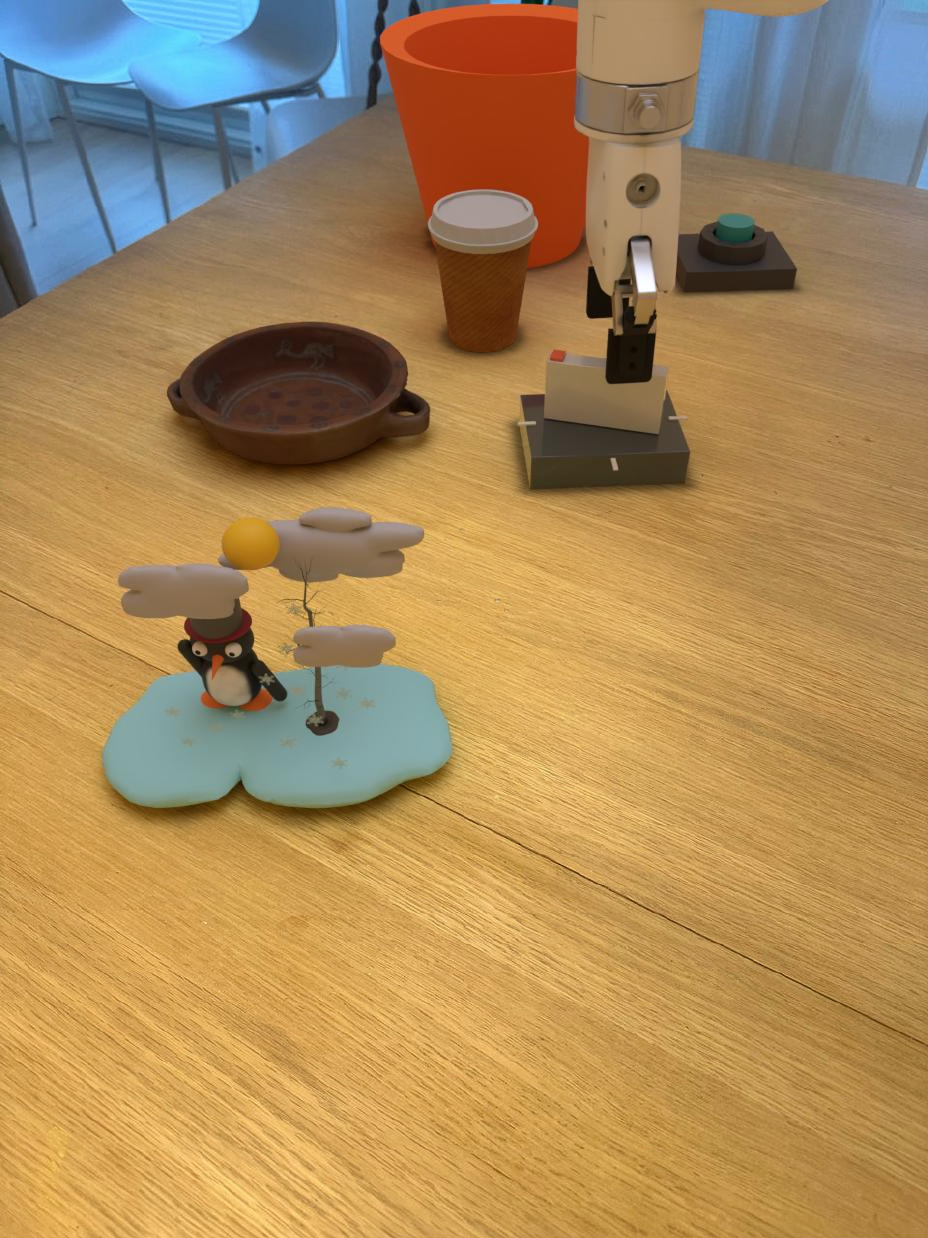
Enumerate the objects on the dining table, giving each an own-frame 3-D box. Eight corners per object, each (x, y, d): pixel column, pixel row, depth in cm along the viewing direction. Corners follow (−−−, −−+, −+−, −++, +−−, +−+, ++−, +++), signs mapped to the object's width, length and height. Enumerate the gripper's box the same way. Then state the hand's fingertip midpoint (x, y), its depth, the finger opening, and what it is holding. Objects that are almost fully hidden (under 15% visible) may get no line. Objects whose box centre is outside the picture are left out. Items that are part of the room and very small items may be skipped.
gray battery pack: (661, 423, 82) (669, 363, 78) (658, 434, 80) (667, 373, 77) (547, 407, 83) (551, 347, 80) (543, 418, 82) (546, 358, 79)
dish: (208, 363, 95) (198, 311, 92) (449, 379, 93) (448, 327, 89) (136, 473, 82) (122, 418, 79) (413, 496, 80) (410, 440, 77)
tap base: (665, 407, 89) (669, 373, 87) (699, 500, 79) (705, 465, 77) (509, 412, 89) (510, 379, 86) (524, 506, 79) (526, 472, 77)
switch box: (768, 251, 111) (776, 213, 109) (792, 289, 105) (801, 250, 102) (666, 254, 111) (670, 216, 108) (683, 293, 105) (689, 254, 102)
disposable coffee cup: (516, 368, 94) (520, 237, 86) (416, 352, 96) (411, 222, 88) (545, 320, 100) (551, 194, 92) (451, 306, 103) (448, 181, 95)
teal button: (746, 229, 107) (749, 212, 106) (755, 244, 104) (758, 226, 103) (711, 230, 107) (714, 213, 106) (719, 245, 104) (722, 228, 103)
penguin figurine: (90, 821, 58) (7, 620, 48) (135, 681, 66) (71, 482, 56) (452, 819, 58) (447, 617, 48) (454, 679, 66) (449, 480, 56)
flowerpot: (536, 178, 127) (544, -8, 114) (669, 253, 111) (695, 46, 98) (351, 223, 118) (335, 25, 104) (467, 311, 102) (465, 92, 89)
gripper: (726, 144, 60) (692, 406, 71) (667, 56, 72) (646, 291, 84) (595, 151, 60) (582, 413, 71) (558, 62, 72) (552, 296, 84)
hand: (616, 347), depth 78 cm, fingers open, 9 cm apart
